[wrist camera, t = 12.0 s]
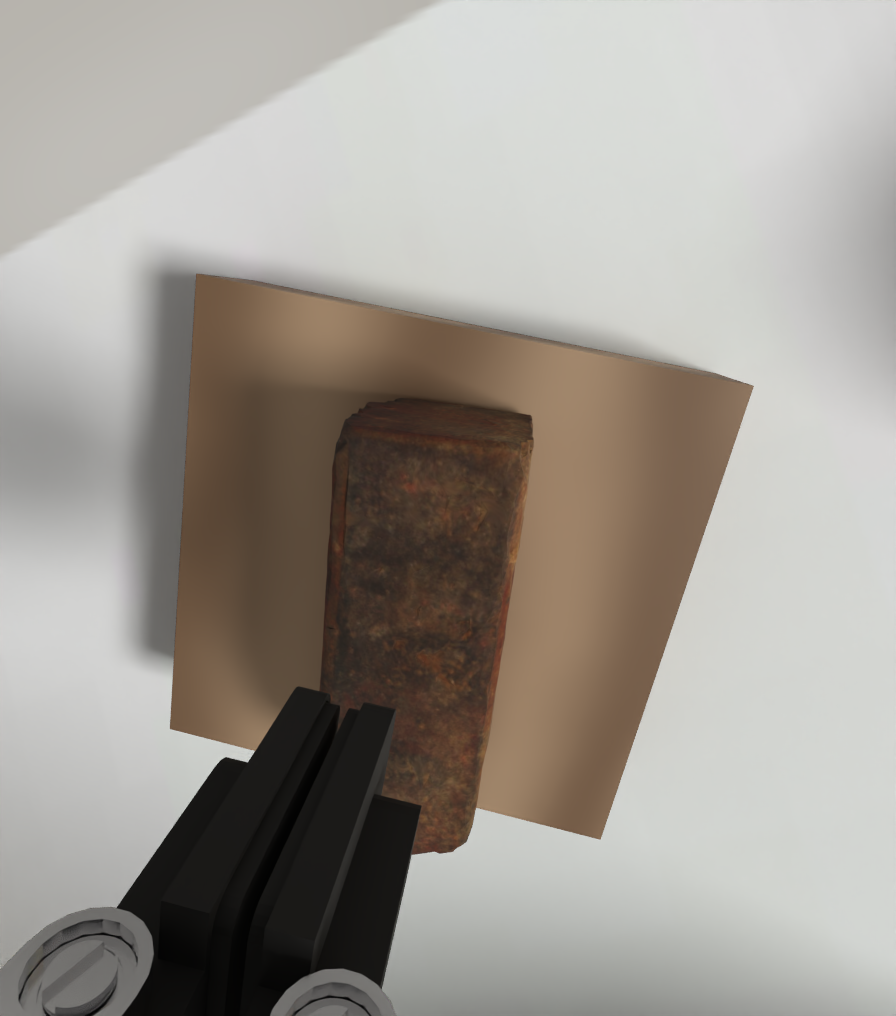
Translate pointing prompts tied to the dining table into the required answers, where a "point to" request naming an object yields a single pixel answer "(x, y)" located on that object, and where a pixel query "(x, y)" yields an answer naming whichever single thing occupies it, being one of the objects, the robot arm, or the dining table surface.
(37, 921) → the dining table surface
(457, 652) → the brick
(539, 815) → the walnut base block
